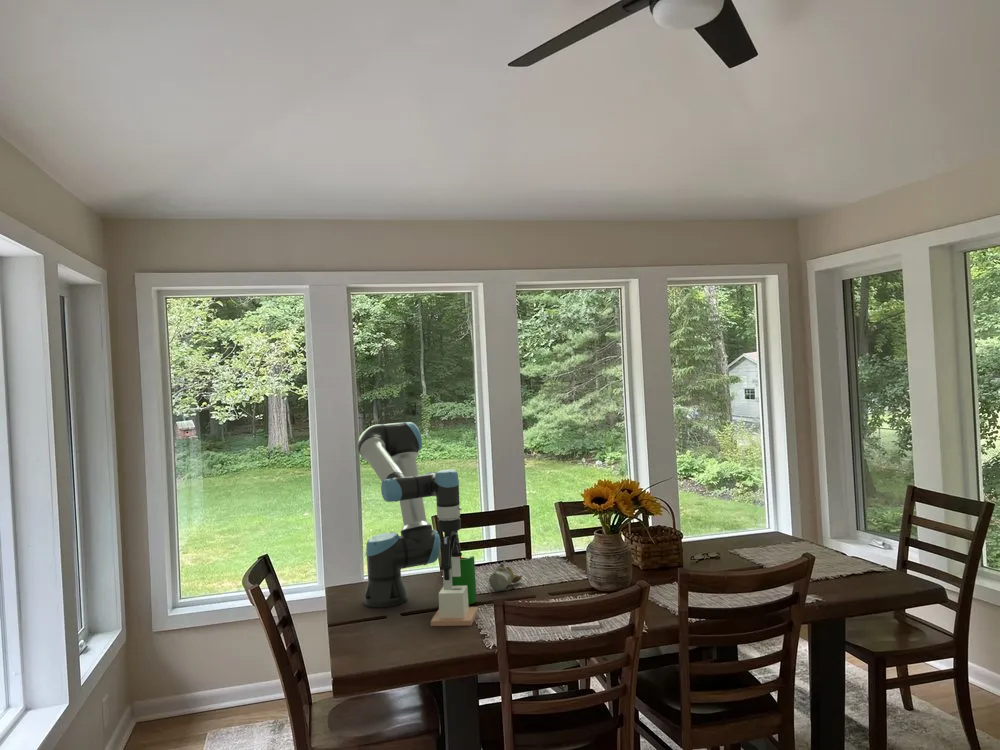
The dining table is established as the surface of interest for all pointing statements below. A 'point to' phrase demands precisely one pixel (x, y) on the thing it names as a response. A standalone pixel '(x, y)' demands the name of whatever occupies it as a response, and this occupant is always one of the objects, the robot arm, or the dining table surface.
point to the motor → (466, 577)
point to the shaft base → (455, 619)
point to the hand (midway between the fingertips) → (452, 582)
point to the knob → (453, 602)
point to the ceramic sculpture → (503, 577)
